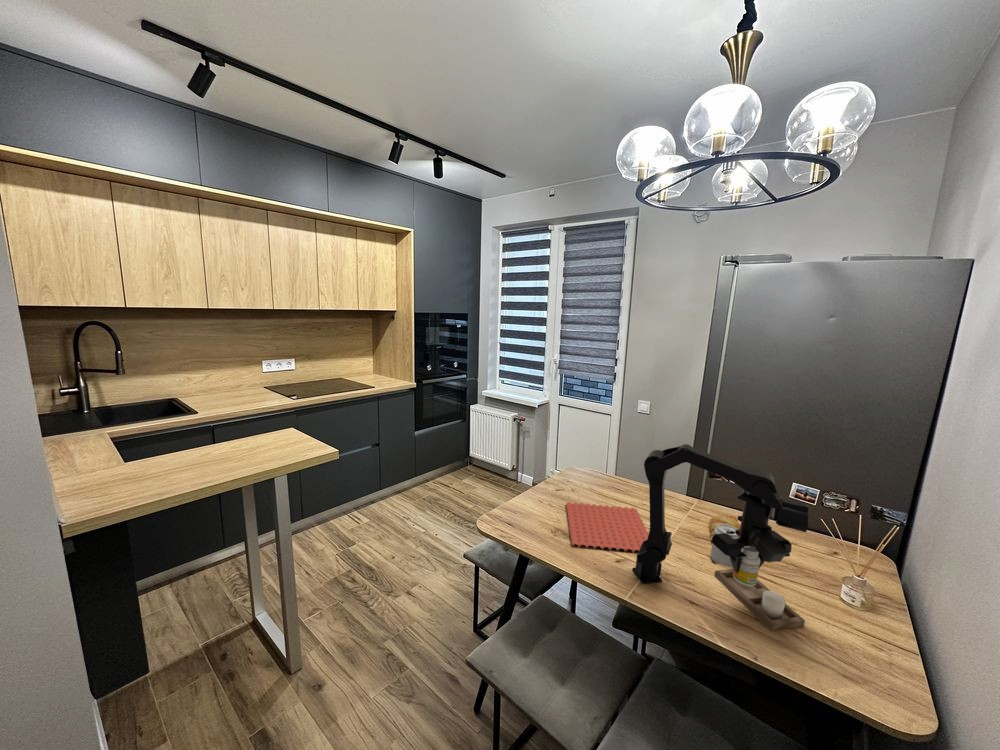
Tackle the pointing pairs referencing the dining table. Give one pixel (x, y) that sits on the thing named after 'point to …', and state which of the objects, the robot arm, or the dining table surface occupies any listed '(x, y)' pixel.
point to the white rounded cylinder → (772, 605)
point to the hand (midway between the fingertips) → (745, 571)
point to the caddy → (758, 602)
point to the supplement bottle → (748, 567)
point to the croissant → (722, 522)
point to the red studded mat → (605, 526)
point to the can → (715, 552)
